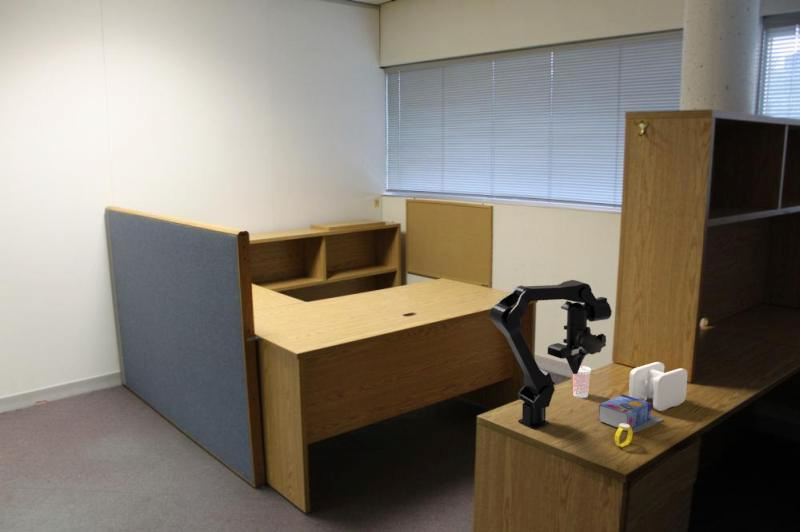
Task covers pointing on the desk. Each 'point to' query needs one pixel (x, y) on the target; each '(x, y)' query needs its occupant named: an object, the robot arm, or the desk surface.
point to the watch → (618, 433)
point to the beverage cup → (581, 382)
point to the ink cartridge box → (624, 411)
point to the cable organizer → (658, 385)
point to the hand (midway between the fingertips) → (575, 373)
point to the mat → (646, 423)
